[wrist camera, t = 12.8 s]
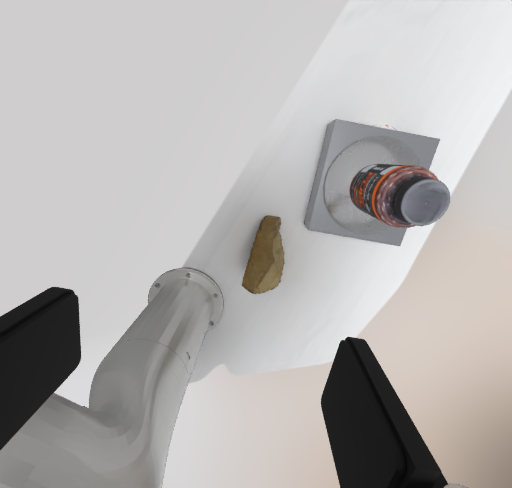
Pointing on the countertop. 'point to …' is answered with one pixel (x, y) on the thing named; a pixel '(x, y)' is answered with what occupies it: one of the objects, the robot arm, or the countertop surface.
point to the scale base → (334, 143)
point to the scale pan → (345, 171)
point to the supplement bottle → (400, 194)
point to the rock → (265, 258)
